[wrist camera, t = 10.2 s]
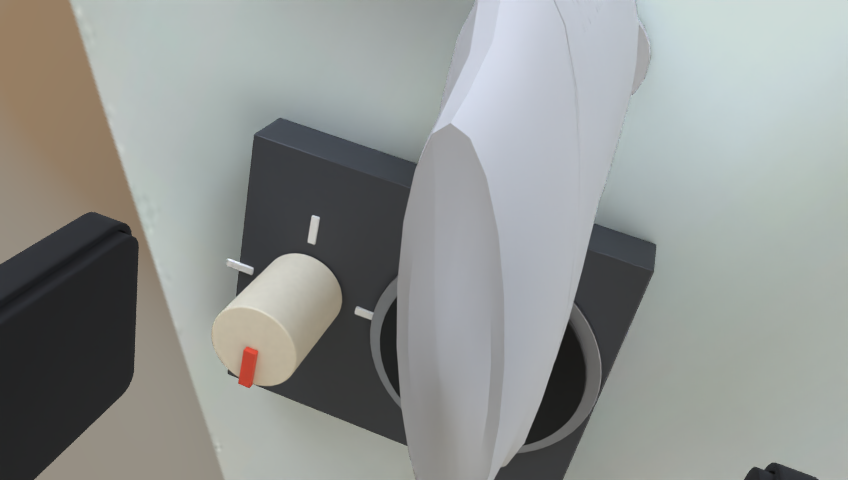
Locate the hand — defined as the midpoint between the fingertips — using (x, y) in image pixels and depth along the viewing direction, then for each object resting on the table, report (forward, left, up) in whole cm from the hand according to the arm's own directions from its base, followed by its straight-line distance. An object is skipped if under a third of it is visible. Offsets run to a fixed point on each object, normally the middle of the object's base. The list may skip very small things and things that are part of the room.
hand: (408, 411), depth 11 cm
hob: (+4, +14, -23) cm, 27 cm away
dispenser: (0, 0, -23) cm, 23 cm away
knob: (+9, +14, -20) cm, 26 cm away
